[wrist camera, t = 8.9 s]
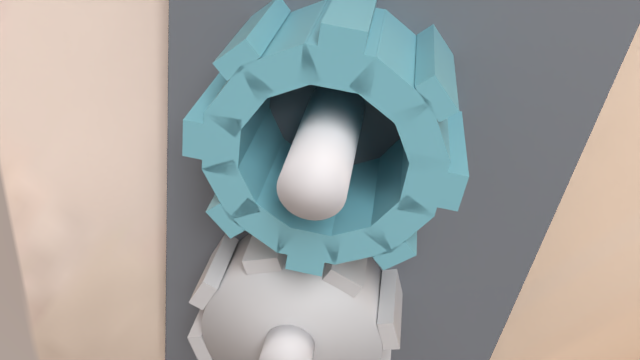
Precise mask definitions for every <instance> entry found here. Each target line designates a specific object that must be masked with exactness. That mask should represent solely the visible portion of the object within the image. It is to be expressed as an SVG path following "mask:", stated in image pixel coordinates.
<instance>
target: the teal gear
mask: <svg viewBox="0 0 640 360" xmlns="http://www.w3.org/2000/svg"><path fill="white" fill-rule="evenodd" d="M376 4H377V0H322V1H320V2H317V3H314V4H312V5H309V6H306V7H303V8H301V9H298V10H295V11H292V12H290V11H291V10H290V9H289V8H288V6H287V5H286V4H285V2H284V1H283V0H272V1H271V2H270V3H268V4H267V5H266V6H264V7H263V8H262V9H260V10H259V11H258V12H256V13H255V14H254V15H252V16H251V17H250V18H249V20H248V21H247V22H246V23H245V24H244V26H243V27H242V28H241V29H240V30H239V32H238V33H237V34H236V35H235V36H234V38H233V39H232V40H231V41H230V43H229V44H228V45H227V46H226V47H225V49H224V50H223V51H222V52H221V53H220V55H219V56H218V57H217V58H216V59H215V61H214V62H213V63H212V64H213V65H214V66H215V67H216V69H217V70H218V71H219V74H218V75H217V76H216V78H215V79H214V80H213V81H212V83H211V84H210V85H209V87H208V88H207V89H206V91H205V92H204V93H203V94H202V96H201V97H200V98H199V100H198V101H197V102H196V103H195V105H194V106H193V107H192V109H191V110H190V111H189V113H188V114H187V115H186V116H185V118H184V119H183V145H182V156H186V157H191V158H196V159H201V160H202V168H201V169H202V171H203V173H204V174H205V176H206V178H207V180H208V182H209V183H210V185H211V187H212V189H213V191H214V192H215V195H214V197H213V199H212V201H211V203H210V204H209V206H208V208H207V210H206V213H207V214H208V215H209V216H210V217H211V218H212V219H213V220H214V222H215V223H216V224H217V225H218V226H219V227H220V228H221V229H222V230H223V231H224V232H225V233H226V234H227V235H228V237H229V238H230V239H231V238H233V237H234V236H236V235H238V234H240V233H242V232H243V231H245V230H246V231H247V232H248V233H250V234H251V235H253V236H254V237H256V238H257V239H258V240H260V241H261V242H263V243H264V244H265V245H267V246H268V247H270V248H271V249H273V250H274V251H275V252H276V253H281V254H286V255H287V260H286V267H285V269H288V270H293V271H297V272H302V273H307V274H312V275H316V276H321V277H322V273H323V269H324V264H325V263H329V264H334V265H336V264H340V263H345V262H350V261H354V260H359V259H364V258H368V257H373V258H374V260H375V261H376V262H377V263H378V264H379V266H380V267H381V268H382V269H383V270H386V269H388V268H390V267H392V266H395V265H397V264H399V263H401V262H403V261H406V260H408V259H410V258H412V257H414V256H416V255H417V231H418V230H419V229H420V228H421V227H422V226H424V225H425V224H426V223H427V222H428V221H430V220H431V219H432V218H433V217H434V216H435V213H436V209H437V207H438V208H443V209H448V210H453V211H458V209H459V206H460V203H461V200H462V197H463V194H464V191H465V188H466V185H467V182H468V179H469V170H468V161H467V152H466V144H465V135H464V126H463V117H462V111H459V103H458V93H457V84H456V74H455V65H454V55H453V53H452V52H451V50H450V49H449V47H448V46H447V44H446V42H445V41H444V39H443V38H442V36H441V35H440V33H439V32H438V30H437V29H436V27H435V25H434V24H433V25H431V26H430V27H428V28H426V29H425V30H423V31H422V32H420V33H419V34H417V36H416V35H415V34H414V33H413V32H412V31H411V30H409V29H408V28H407V27H406V26H405V25H404V24H402V23H401V22H400V21H399V20H398V19H397V18H395V17H394V16H393V15H392V14H391V13H390V12H389V11H387V10H386V9H380V8H376ZM307 85H315V86H321V87H326V88H331V89H336V90H341V91H346V92H351V93H357V94H359V95H360V96H362V97H363V98H364V99H365V100H366V101H368V102H369V103H370V104H371V105H373V106H374V107H375V108H376V109H378V110H379V111H380V112H381V113H383V114H384V115H385V116H386V117H387V118H389V119H390V120H391V121H392V122H394V123H395V125H396V128H397V131H398V133H399V136H400V139H399V140H398V141H397V142H396V143H395V144H394V145H393V146H392V147H390V148H389V149H388V150H387V151H386V152H385V153H384V154H383V155H382V156H381V157H380V158H377V159H373V160H370V161H366V162H362V163H358V164H355V165H353V169H352V174H351V179H350V184H349V189H348V194H347V199H346V202H345V204H344V206H343V208H342V209H341V210H340V211H339V212H338V213H337V214H336V215H334V216H332V217H330V218H328V219H324V220H317V221H314V220H306V219H302V218H300V217H297V216H295V215H294V214H292V213H291V212H289V211H288V210H287V209H286V208H285V207H284V206H283V204H282V203H281V201H280V200H279V197H278V194H277V180H278V178H279V175H280V173H281V170H282V168H283V165H284V163H285V160H286V158H287V155H288V153H289V150H290V148H291V145H292V144H290V143H289V142H288V141H286V140H285V139H284V138H283V136H282V134H281V131H280V129H279V127H278V125H277V123H276V121H275V119H274V116H273V114H272V112H271V110H270V108H269V106H270V97H273V96H276V95H279V94H282V93H285V92H288V91H292V90H295V89H298V88H301V87H304V86H307Z"/></svg>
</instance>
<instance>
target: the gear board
mask: <svg viewBox="0 0 640 360" xmlns="http://www.w3.org/2000/svg"><path fill="white" fill-rule="evenodd" d="M271 1H272V0H169V49H168V148H167V247H166V345H165V360H490V357H491V355H492V353H493V351H494V348H495V346H496V344H497V342H498V339H499V337H500V335H501V333H502V331H503V328H504V326H505V324H506V322H507V319H508V317H509V315H510V313H511V310H512V308H513V306H514V304H515V301H516V299H517V297H518V295H519V292H520V290H521V288H522V286H523V284H524V281H525V279H526V277H527V275H528V272H529V270H530V268H531V266H532V263H533V261H534V259H535V257H536V254H537V252H538V250H539V248H540V245H541V243H542V241H543V239H544V237H545V234H546V232H547V230H548V228H549V225H550V223H551V221H552V219H553V216H554V214H555V212H556V210H557V207H558V205H559V203H560V201H561V198H562V196H563V194H564V192H565V190H566V187H567V185H568V183H569V181H570V178H571V176H572V174H573V172H574V169H575V167H576V165H577V163H578V160H579V158H580V156H581V154H582V151H583V149H584V147H585V145H586V143H587V140H588V138H589V136H590V134H591V131H592V129H593V127H594V125H595V122H596V120H597V118H598V116H599V113H600V111H601V109H602V107H603V104H604V102H605V100H606V98H607V96H608V93H609V91H610V89H611V87H612V84H613V82H614V80H615V78H616V75H617V73H618V71H619V69H620V66H621V64H622V62H623V60H624V57H625V55H626V53H627V51H628V49H629V46H630V44H631V42H632V40H633V37H634V35H635V33H636V31H637V28H638V26H639V24H640V0H377V4H376V8H380V9H386V10H387V11H389V12H390V13H391V14H392V15H393V16H394V17H395V18H397V19H398V20H399V21H400V22H401V23H402V24H404V25H405V26H406V27H407V28H408V29H409V30H411V31H412V32H413V33H414V34H415V35H416V36H417V34H419V33H420V32H422V31H423V30H425V29H426V28H428V27H430V26H431V25H433V24H434V25H435V27H436V29H437V30H438V32H439V33H440V35H441V36H442V38H443V39H444V41H445V42H446V44H447V46H448V47H449V49H450V50H451V52H452V53H453V55H454V65H455V74H456V84H457V93H458V103H459V111H462V117H463V126H464V135H465V144H466V152H467V161H468V170H469V179H468V182H467V185H466V188H465V191H464V194H463V197H462V200H461V203H460V206H459V209H458V211H453V210H448V209H443V208H438V207H437V209H436V213H435V216H434V217H433V218H432V219H431V220H430V221H428V222H427V223H426V224H425V225H424V226H422V227H421V228H420V229H419V230H418V231H417V255H416V256H414V257H412V258H410V259H408V260H406V261H403V262H401V263H399V264H397V265H395V266H392V267H390V268H388V269H386V270H383V269H382V268H381V267H380V266H379V264H378V263H377V262H376V261H375V260H374V258H373V257H368V258H364V259H359V260H354V261H350V262H345V263H340V264H336V265H334V264H329V263H325V264H324V269H323V273H322V277H321V276H316V275H312V274H307V273H302V272H297V271H293V270H288V269H285V267H286V260H287V255H286V254H281V253H276V252H275V251H274V250H273V249H271V248H270V247H268V246H267V245H265V244H264V243H263V242H261V241H260V240H258V239H257V238H256V237H254V236H253V235H251V234H250V233H248V232H247V231H246V230H245V231H243V232H242V233H240V234H238V235H236V236H234V237H233V238H231V239H230V238H229V237H228V235H227V234H226V233H225V232H224V231H223V230H222V229H221V228H220V227H219V226H218V225H217V224H216V223H215V222H214V220H213V219H212V218H211V217H210V216H209V215H208V214H207V213H206V210H207V208H208V206H209V204H210V203H211V201H212V199H213V197H214V195H215V192H214V191H213V189H212V187H211V185H210V183H209V182H208V180H207V178H206V176H205V174H204V173H203V171H202V169H201V168H202V160H201V159H196V158H191V157H186V156H182V145H183V119H184V118H185V116H186V115H187V114H188V113H189V111H190V110H191V109H192V107H193V106H194V105H195V103H196V102H197V101H198V100H199V98H200V97H201V96H202V94H203V93H204V92H205V91H206V89H207V88H208V87H209V85H210V84H211V83H212V81H213V80H214V79H215V78H216V76H217V75H218V74H219V71H218V70H217V69H216V67H215V66H214V65H213V64H212V63H213V62H214V61H215V59H216V58H217V57H218V56H219V55H220V53H221V52H222V51H223V50H224V49H225V47H226V46H227V45H228V44H229V43H230V41H231V40H232V39H233V38H234V36H235V35H236V34H237V33H238V32H239V30H240V29H241V28H242V27H243V26H244V24H245V23H246V22H247V21H248V20H249V18H250V17H251V16H252V15H254V14H255V13H256V12H258V11H259V10H260V9H262V8H263V7H264V6H266V5H267V4H268V3H270V2H271ZM283 1H284V2H285V4H286V5H287V6H288V8H289V9H290V10H291V11H290V12H292V11H295V10H298V9H301V8H303V7H306V6H309V5H312V4H314V3H317V2H320V1H322V0H283ZM269 108H270V110H271V112H272V114H273V116H274V119H275V121H276V123H277V125H278V127H279V129H280V131H281V134H282V136H283V138H284V139H285V140H286V141H288V142H289V143H290V144H292V145H291V148H290V150H289V153H288V155H287V158H286V160H285V163H284V165H283V168H282V170H281V173H280V175H279V178H278V180H277V194H278V197H279V200H280V201H281V203H282V204H283V206H284V207H285V208H286V209H287V210H288V211H289V212H291V213H292V214H294V215H295V216H297V217H300V218H302V219H306V220H314V221H317V220H324V219H328V218H330V217H332V216H334V215H336V214H337V213H338V212H339V211H340V210H341V209H342V208H343V206H344V204H345V202H346V199H347V194H348V189H349V184H350V179H351V174H352V169H353V165H355V164H358V163H362V162H366V161H370V160H373V159H377V158H380V157H381V156H382V155H383V154H384V153H385V152H386V151H387V150H388V149H389V148H390V147H392V146H393V145H394V144H395V143H396V142H397V141H398V140H399V139H400V136H399V133H398V131H397V128H396V125H395V123H394V122H392V121H391V120H390V119H389V118H387V117H386V116H385V115H384V114H383V113H381V112H380V111H379V110H378V109H376V108H375V107H374V106H373V105H371V104H370V103H369V102H368V101H366V100H365V99H364V98H363V97H362V96H360V95H359V94H357V93H351V92H346V91H341V90H336V89H331V88H326V87H321V86H315V85H307V86H304V87H301V88H298V89H295V90H292V91H288V92H285V93H282V94H279V95H276V96H273V97H270V106H269Z"/></svg>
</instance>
